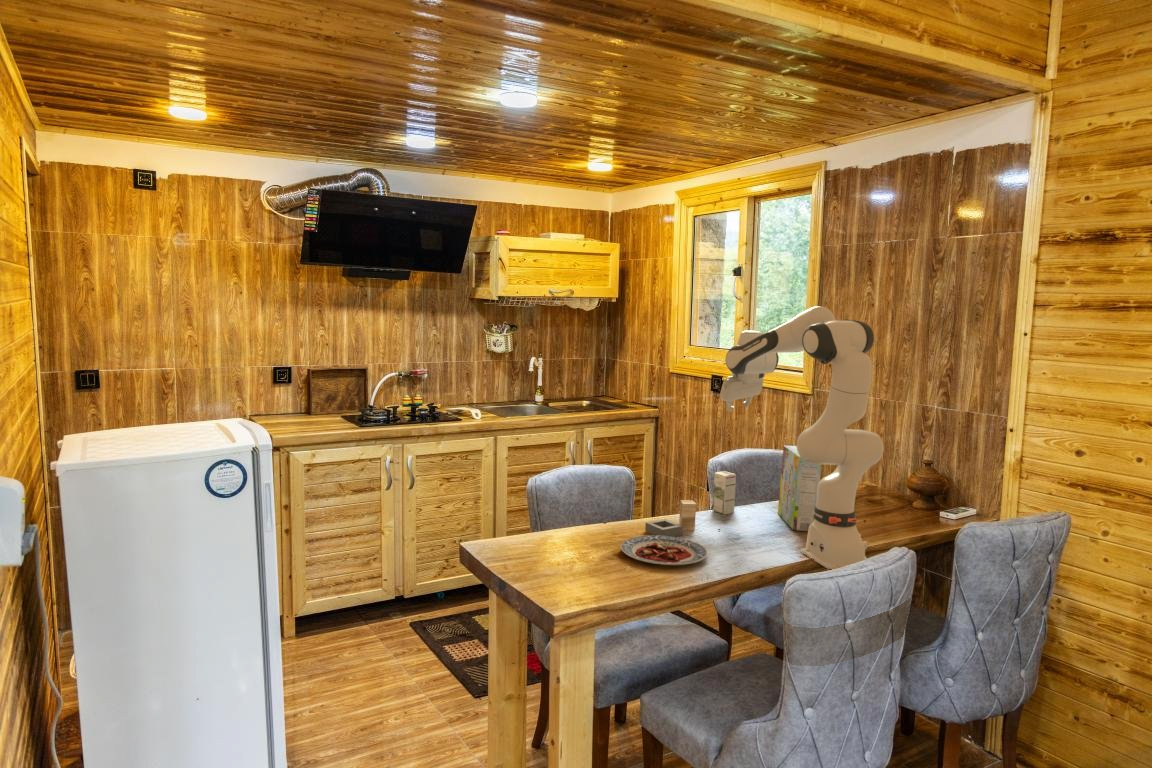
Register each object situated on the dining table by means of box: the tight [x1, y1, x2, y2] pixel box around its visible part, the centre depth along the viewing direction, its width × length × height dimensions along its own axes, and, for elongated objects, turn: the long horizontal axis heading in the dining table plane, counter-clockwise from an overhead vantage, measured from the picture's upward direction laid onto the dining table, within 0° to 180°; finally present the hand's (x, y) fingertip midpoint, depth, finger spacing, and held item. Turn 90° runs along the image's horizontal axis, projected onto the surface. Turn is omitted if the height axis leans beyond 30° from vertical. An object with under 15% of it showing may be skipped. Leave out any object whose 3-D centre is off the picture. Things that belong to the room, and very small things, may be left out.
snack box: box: [777, 444, 823, 532], centre depth 259 cm, size 22×9×26 cm, turn 179°
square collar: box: [644, 518, 684, 537], centre depth 243 cm, size 9×9×3 cm
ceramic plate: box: [620, 534, 709, 566], centre depth 222 cm, size 26×26×3 cm
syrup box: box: [712, 470, 737, 515], centre depth 270 cm, size 6×6×14 cm
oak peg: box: [678, 499, 697, 531], centre depth 249 cm, size 4×4×9 cm
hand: (737, 408), depth 273 cm, fingers open, 8 cm apart
